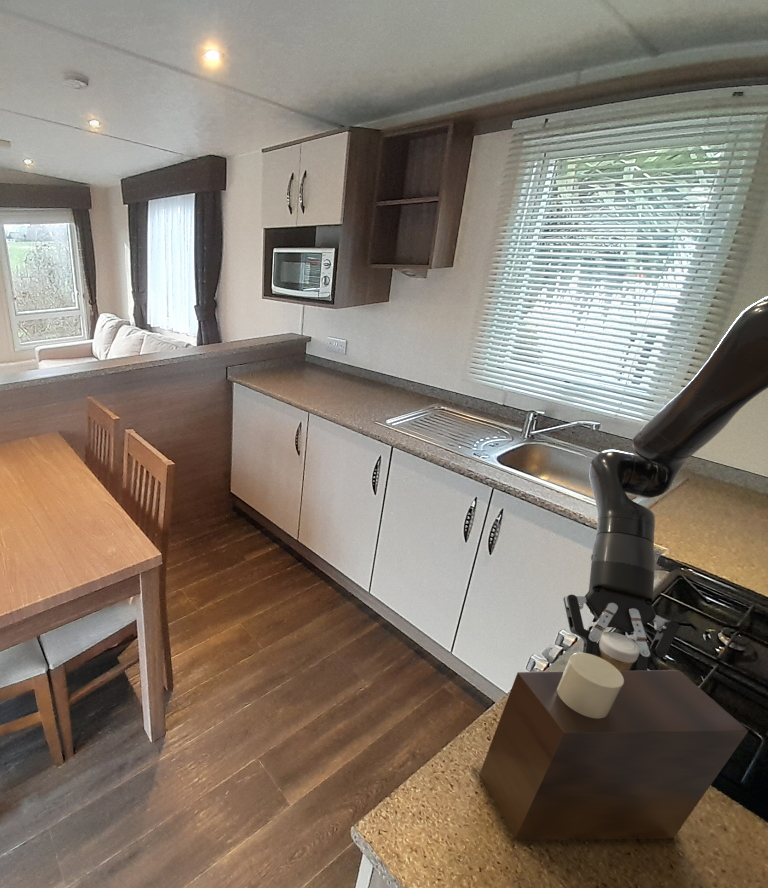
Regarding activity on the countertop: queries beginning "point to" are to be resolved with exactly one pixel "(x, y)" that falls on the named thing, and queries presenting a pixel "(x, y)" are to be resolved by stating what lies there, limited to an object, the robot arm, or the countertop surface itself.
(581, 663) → the cream squat cylinder
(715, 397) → the robot arm
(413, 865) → the countertop surface
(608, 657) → the sprinkles bottle
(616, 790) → the block
